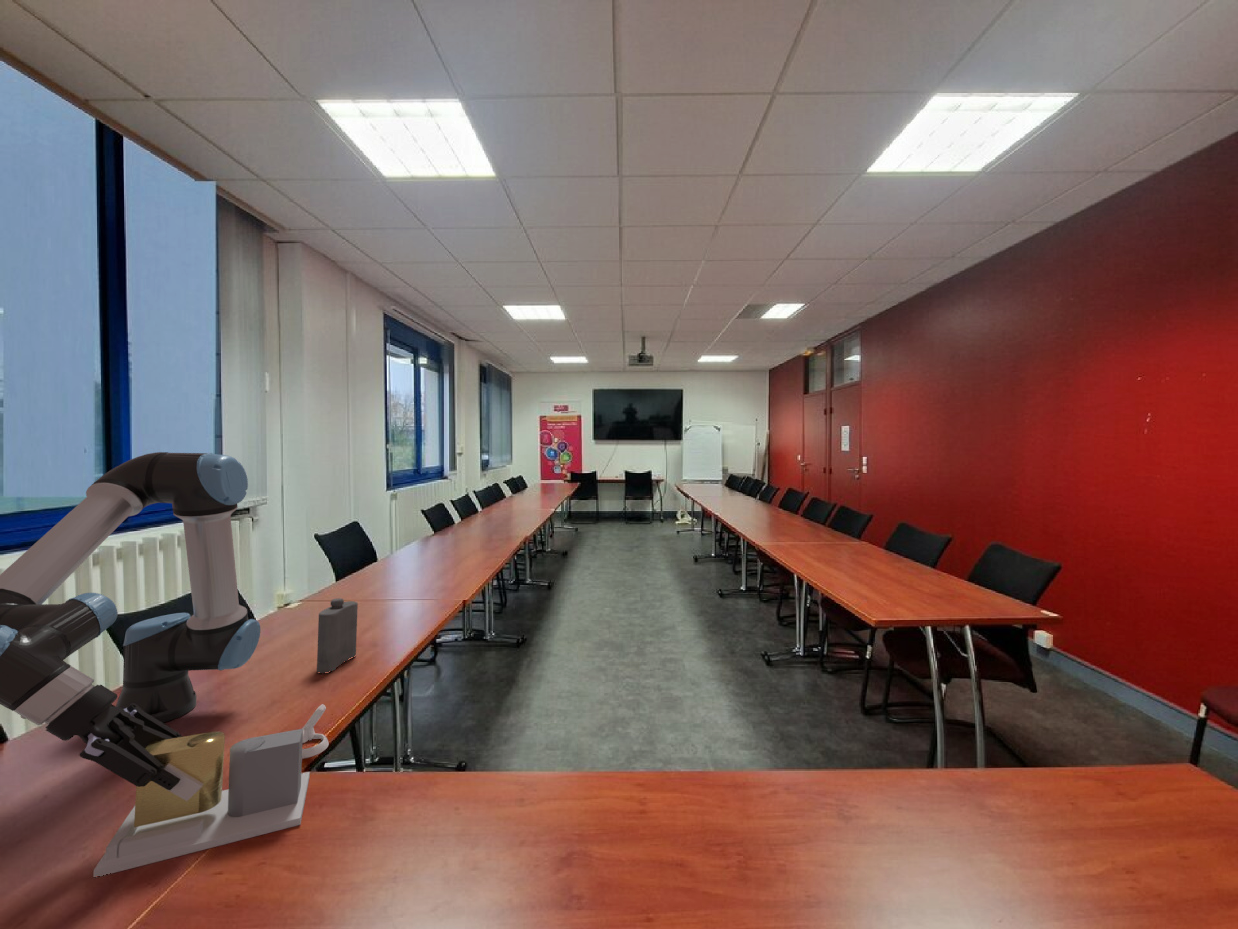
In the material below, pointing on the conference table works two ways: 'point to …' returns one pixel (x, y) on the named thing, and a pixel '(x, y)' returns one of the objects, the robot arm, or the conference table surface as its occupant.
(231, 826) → the hinge base
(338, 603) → the flask
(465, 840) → the conference table surface
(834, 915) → the conference table surface
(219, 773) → the block
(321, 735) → the hook
